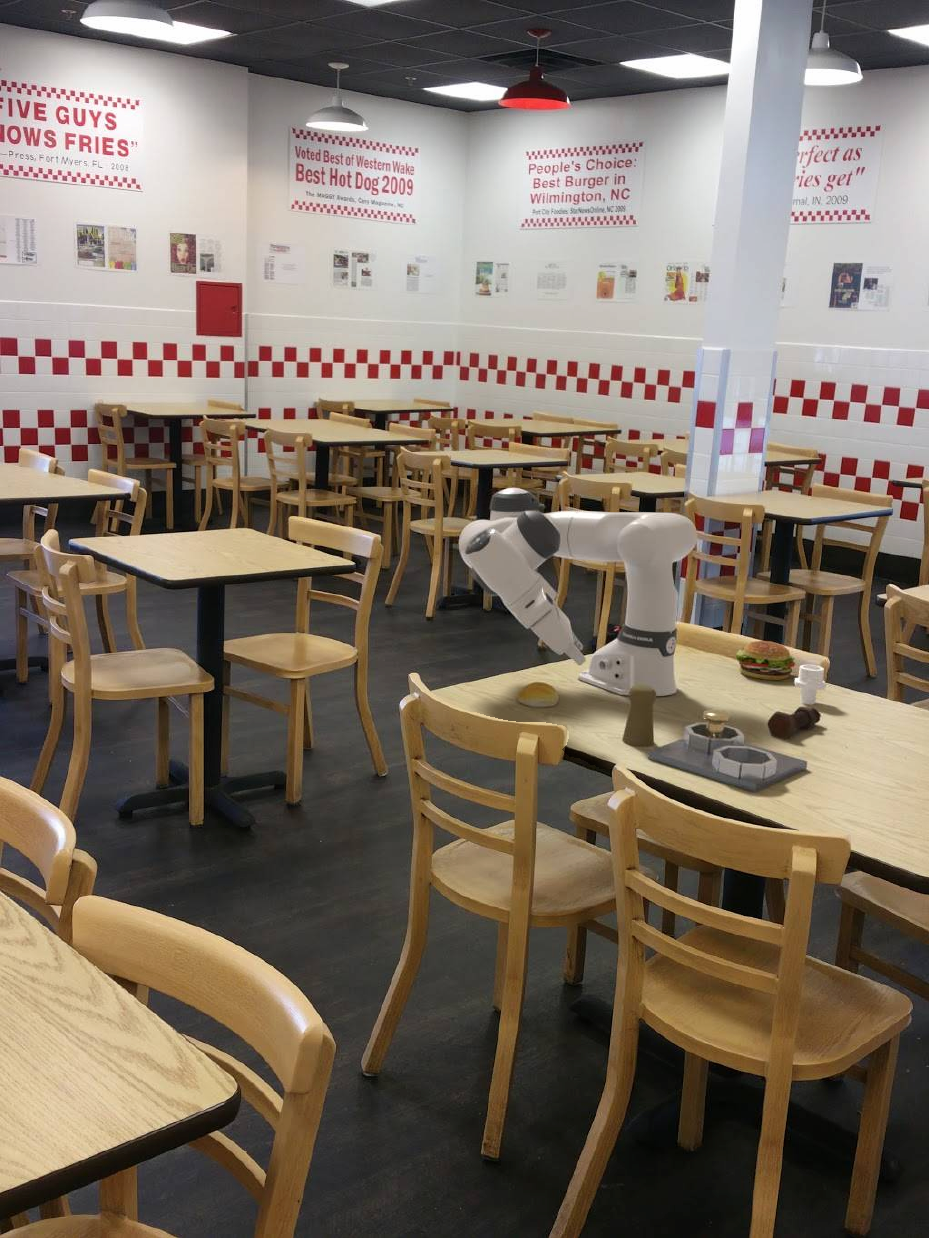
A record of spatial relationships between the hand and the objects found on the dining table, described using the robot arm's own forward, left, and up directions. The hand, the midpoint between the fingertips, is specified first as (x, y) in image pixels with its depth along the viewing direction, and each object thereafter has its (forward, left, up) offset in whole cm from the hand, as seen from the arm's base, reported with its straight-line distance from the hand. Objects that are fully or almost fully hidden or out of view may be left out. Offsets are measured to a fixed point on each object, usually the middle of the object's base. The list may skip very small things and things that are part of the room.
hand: (581, 656), depth 225 cm
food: (-2, +76, -16) cm, 78 cm away
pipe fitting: (+17, +62, -16) cm, 66 cm away
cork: (+9, +8, -16) cm, 20 cm away
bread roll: (-20, +13, -17) cm, 29 cm away
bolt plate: (+27, +10, -16) cm, 33 cm away
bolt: (+26, +41, -17) cm, 51 cm away
